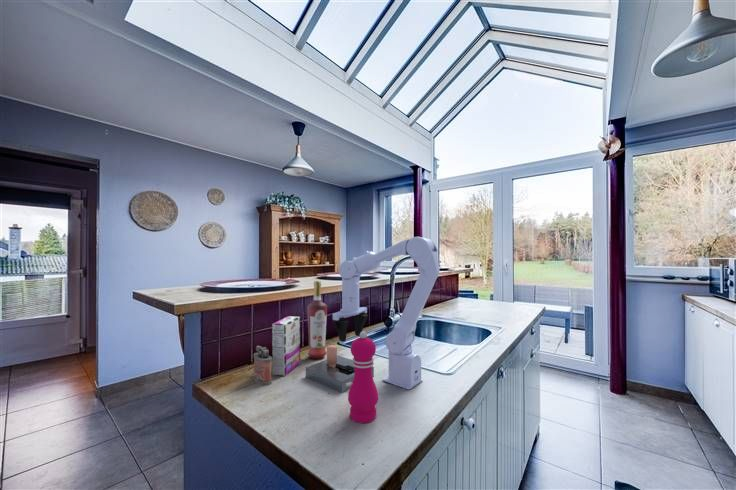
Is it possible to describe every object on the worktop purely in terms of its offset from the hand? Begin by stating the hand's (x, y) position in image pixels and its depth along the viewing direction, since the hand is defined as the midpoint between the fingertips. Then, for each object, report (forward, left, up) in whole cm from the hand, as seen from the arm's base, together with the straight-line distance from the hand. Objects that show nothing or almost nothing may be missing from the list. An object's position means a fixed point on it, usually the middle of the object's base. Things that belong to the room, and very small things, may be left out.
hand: (350, 338), depth 98 cm
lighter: (+15, +23, -11) cm, 29 cm away
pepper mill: (-21, +18, -11) cm, 30 cm away
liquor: (+18, -1, -11) cm, 21 cm away
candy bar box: (+17, +13, -11) cm, 24 cm away
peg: (+2, +6, -10) cm, 12 cm away
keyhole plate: (-1, +6, -10) cm, 12 cm away
